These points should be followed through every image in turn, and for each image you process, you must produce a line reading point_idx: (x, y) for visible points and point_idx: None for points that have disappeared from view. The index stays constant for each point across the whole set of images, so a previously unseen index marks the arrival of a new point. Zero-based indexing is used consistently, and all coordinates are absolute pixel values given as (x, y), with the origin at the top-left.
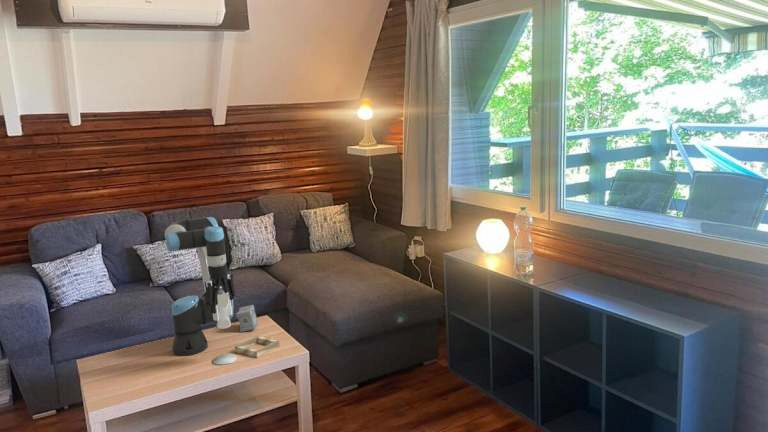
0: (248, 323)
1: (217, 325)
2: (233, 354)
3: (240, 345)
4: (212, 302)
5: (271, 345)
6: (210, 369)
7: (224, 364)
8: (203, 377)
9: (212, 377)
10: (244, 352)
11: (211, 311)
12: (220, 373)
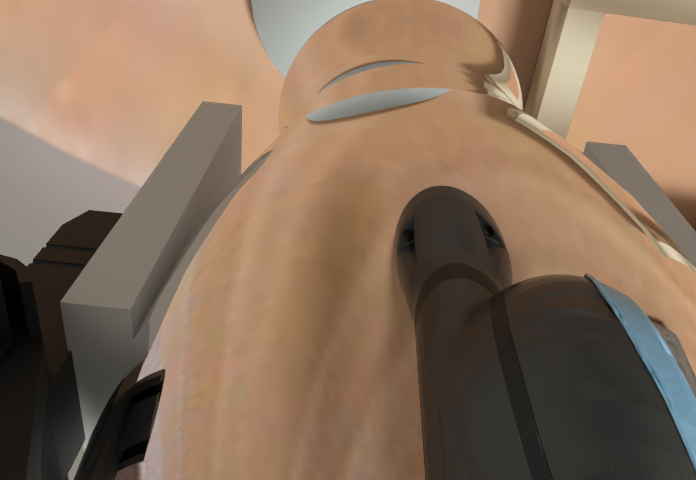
0: None
1: (283, 98)
2: (474, 12)
3: (616, 11)
4: (22, 423)
5: None
6: (156, 8)
7: (279, 67)
8: (22, 64)
9: (65, 133)
10: (532, 95)
11: (56, 241)
12: (146, 145)
